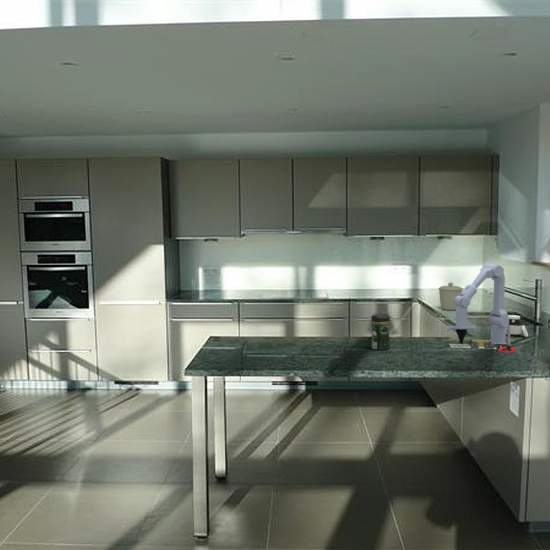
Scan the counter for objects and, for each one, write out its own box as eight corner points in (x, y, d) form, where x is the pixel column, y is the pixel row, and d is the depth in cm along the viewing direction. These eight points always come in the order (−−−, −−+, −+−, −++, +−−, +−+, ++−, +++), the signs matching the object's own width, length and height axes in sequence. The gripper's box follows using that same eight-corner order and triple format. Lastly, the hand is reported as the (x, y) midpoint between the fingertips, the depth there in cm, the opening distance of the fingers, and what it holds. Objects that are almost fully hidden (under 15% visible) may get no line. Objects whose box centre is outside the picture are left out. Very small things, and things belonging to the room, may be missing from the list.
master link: (472, 345, 302) (472, 338, 301) (487, 346, 300) (487, 339, 300) (472, 347, 299) (473, 339, 298) (488, 347, 297) (489, 340, 297)
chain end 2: (482, 345, 304) (482, 340, 303) (493, 345, 302) (493, 340, 302) (485, 348, 295) (485, 343, 295) (496, 348, 294) (496, 344, 294)
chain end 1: (468, 344, 305) (468, 340, 304) (476, 344, 304) (476, 340, 304) (471, 348, 296) (471, 343, 296) (479, 348, 296) (479, 343, 296)
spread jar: (503, 334, 335) (504, 314, 334) (522, 334, 335) (523, 314, 334) (511, 338, 323) (511, 318, 322) (531, 338, 323) (531, 318, 322)
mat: (449, 344, 307) (449, 343, 307) (493, 345, 303) (493, 345, 303) (451, 348, 298) (451, 347, 298) (497, 349, 294) (497, 348, 294)
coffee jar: (383, 346, 304) (383, 312, 302) (392, 349, 297) (392, 314, 295) (368, 348, 300) (368, 313, 298) (376, 351, 293) (377, 315, 291)
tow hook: (513, 355, 284) (517, 350, 291) (513, 330, 282) (518, 326, 289) (495, 353, 289) (500, 349, 296) (496, 328, 287) (501, 324, 294)
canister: (437, 311, 426) (437, 283, 424) (438, 307, 443) (438, 280, 441) (462, 311, 420) (463, 283, 419) (462, 308, 438) (463, 281, 436)
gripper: (448, 319, 297) (448, 344, 299) (477, 319, 295) (476, 345, 296) (446, 317, 304) (446, 341, 305) (474, 317, 302) (474, 342, 303)
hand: (461, 343), depth 301 cm, fingers closed
